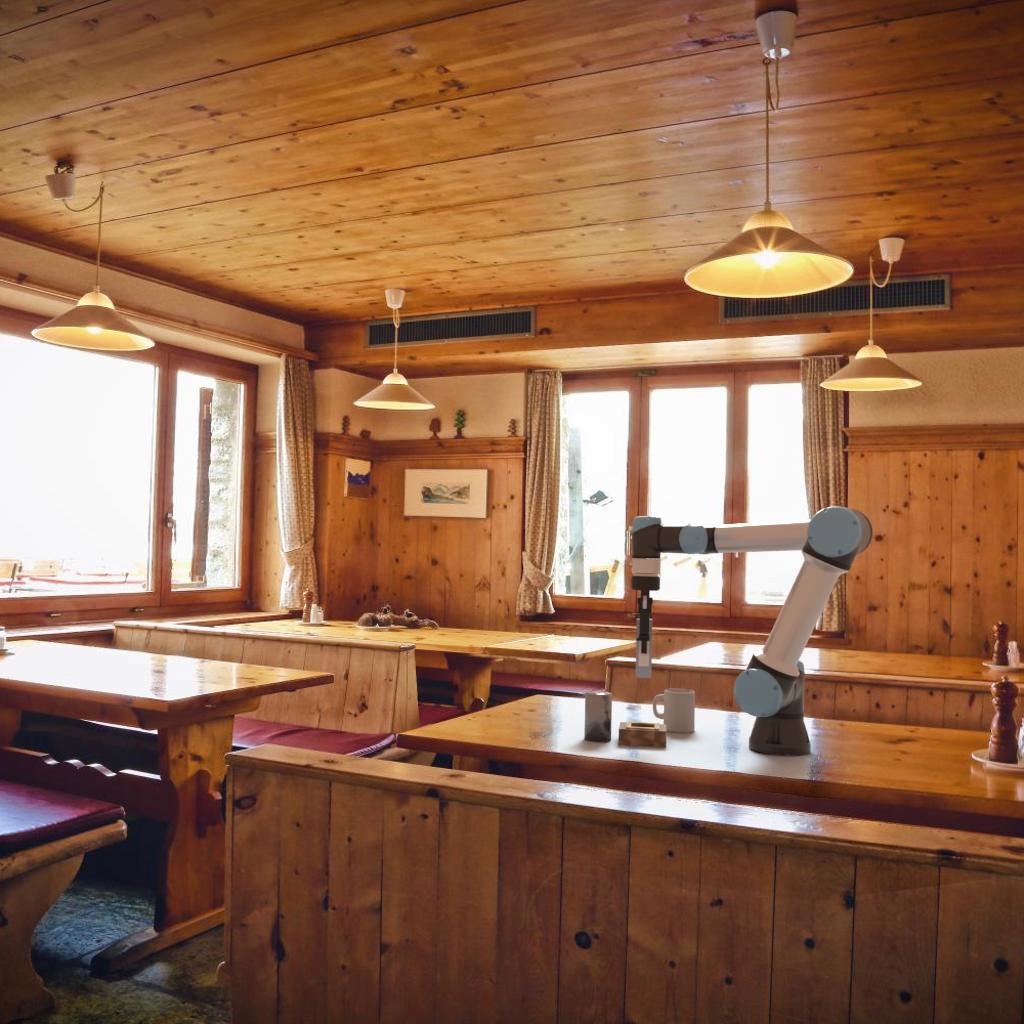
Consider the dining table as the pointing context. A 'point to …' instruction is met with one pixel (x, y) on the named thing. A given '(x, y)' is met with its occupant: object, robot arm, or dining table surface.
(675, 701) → the mug
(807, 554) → the robot arm
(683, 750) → the dining table surface
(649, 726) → the socket block
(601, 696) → the grey storage canister
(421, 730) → the dining table surface
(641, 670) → the square bit
